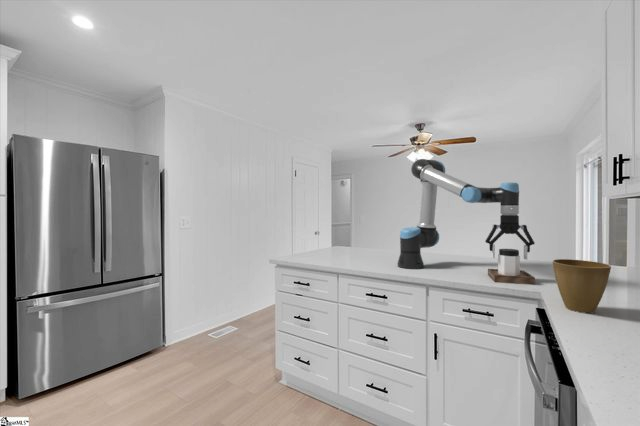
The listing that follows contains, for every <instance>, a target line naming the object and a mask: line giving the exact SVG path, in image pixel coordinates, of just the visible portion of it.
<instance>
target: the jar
mask: <svg viewBox="0 0 640 426" xmlns="http://www.w3.org/2000/svg"><path fill="white" fill-rule="evenodd" d="M519 250H520V249H514V248H499V250H498V254H497V255H498V256H497V260H498V261H497V265H498V266H497V269H498V273H499V274H502V275H507V276H518V275H520V270H521V256H520V251H519Z"/></svg>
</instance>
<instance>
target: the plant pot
mask: <svg viewBox="0 0 640 426" xmlns="http://www.w3.org/2000/svg"><path fill="white" fill-rule="evenodd" d="M552 268H553V274H554V278H555V281H556V285H557V288H558V291H559V295H560V297H561V300H562V302H563V305H564V307H565V308H566V309H567V308H568V310H569V309H570V311H572V310H574V311H573V312H576V311H581V312H593V313H595V312H596V310H597V308H598V306H599V305H600V303H601V300H602V298H603V295H604V293H605V291H606V288H607V284H608V282H609V278H610V275H611V268H612V266H611V265H610V264H608V263H603V262H598V261H593V260H591V261H590V260H582V259H569V258H564V259H563V258H560V259H559V258H556V259H553V260H552ZM581 312H580V313H581Z"/></svg>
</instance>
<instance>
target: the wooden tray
mask: <svg viewBox="0 0 640 426" xmlns="http://www.w3.org/2000/svg"><path fill="white" fill-rule="evenodd" d="M487 276H488V277H489V278H490V279H491V280H492V281H493V282H494V283H502V284H503V283H504V284H516V285H517V284H519V285H531V286H532V285H534V286H535V285H536V277H535V276H533V275H532V274H530V273H528V272H527V271H526V270H521V269H520V275H518V276H507V275H502V274H499V273H498V268H487Z"/></svg>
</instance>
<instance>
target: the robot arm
mask: <svg viewBox="0 0 640 426" xmlns="http://www.w3.org/2000/svg"><path fill="white" fill-rule="evenodd" d="M410 169H411V174H412V176H414V177H415V178H416V179H419V180H420V184H422V189H421V190H422V191H421V201H420V211H419V212H420V213H419V223H417V225H416V226H413V227H412V226H411V227H404V228H402V229H401V230H400V233H399V234H400V235H399V239H400V240H399V242H400V243H399V246H400V249H399V250H400V252H399V254H400V255H399V257H398V261H397V267H398V268H401V269H411V270H412V269H413V270H417V269H423V268H425V265H424V264H425V263H424V260H423V257H422V254H421V250H422V249H424V248H426V249H427V248H431V247H435V246H436V245H437V244H438V243H439V241H440V234H439V231H438V230H437V226H436V225H435V216H436V204H437V194H438V187H439V188H441V189H444V190H445V191H448V192H450V193H452V194H454V195H456V196H458V197H460V198H462V200H463V201H464V202H465V203H470V204H475V203H477V204H478V203H481V204H488V203H489V204H490V203H491V204H492V203H494V204H495V203H500V214H501V215H500V219H499V220H500V224H492V229H491V230H490V232H489V234H488V236H487V237H486V239H485V243H486V244H489V251H490V252H491V258H492V259H495V258H496V256H495V253H496V249H495V248H496V245H495V244H494V243H496V242H497V241H498V240H499V239H500V238H501V237H502V236H503V235H505V234H506V235H516V236H517V237H518V238H519V239H520V240H521V241H522V243H524V245H523V259H524V260H526V261H527V260H528V253H530V251H531V246H532V245H535V241H534V239H533V237H532V236H531V234H530V232H529V231H528V226H527V225H526V224H521V225H520V221H519V220H520V216H519V214H520V210H519V209H520V207H519V206H520V198H519V197H520V185H519V183H518V182H502V183H501V184H500V186H498V187H479V186H478V187H477V186H475V185H473V184H470V183H468V182H466V181H463V180H461V179H459V178H456V177H454V176H451V175H450V174H448V173H446V168H445V165H444V164H443V163H442V162H441V161H440V160H435V159H426V158H421V159H417V160H416V161H414V162H413V163H412V165H411V168H410ZM498 229H500V231H498V233H497V234H496V235H495V233H496V232H497V230H498ZM520 229H521V230H522V231H523V233H524V235H525V236H526V238H527V239H526V238H525V237H524V236H523V235H522V234H521V233H520V231H519V230H520ZM494 235H495V236H494ZM493 236H494V237H493Z"/></svg>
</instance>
